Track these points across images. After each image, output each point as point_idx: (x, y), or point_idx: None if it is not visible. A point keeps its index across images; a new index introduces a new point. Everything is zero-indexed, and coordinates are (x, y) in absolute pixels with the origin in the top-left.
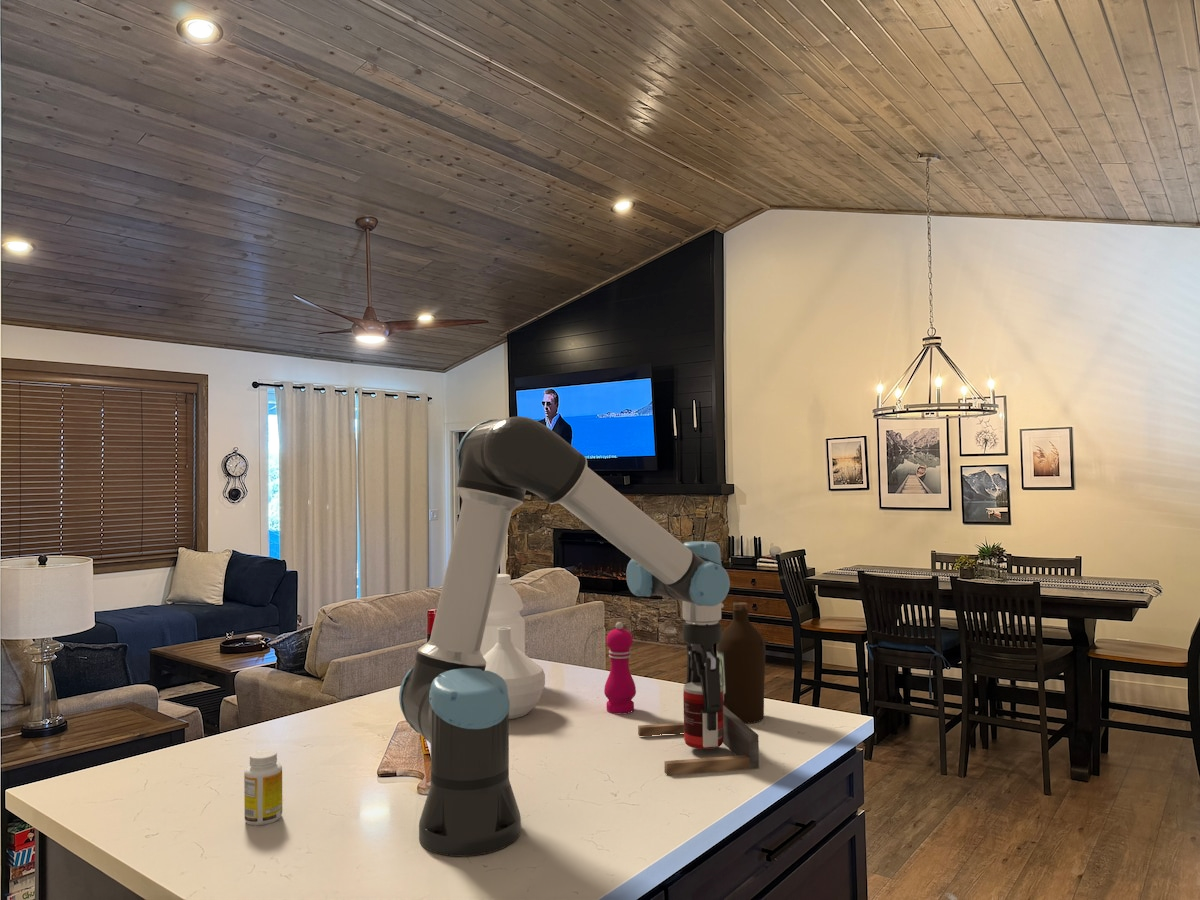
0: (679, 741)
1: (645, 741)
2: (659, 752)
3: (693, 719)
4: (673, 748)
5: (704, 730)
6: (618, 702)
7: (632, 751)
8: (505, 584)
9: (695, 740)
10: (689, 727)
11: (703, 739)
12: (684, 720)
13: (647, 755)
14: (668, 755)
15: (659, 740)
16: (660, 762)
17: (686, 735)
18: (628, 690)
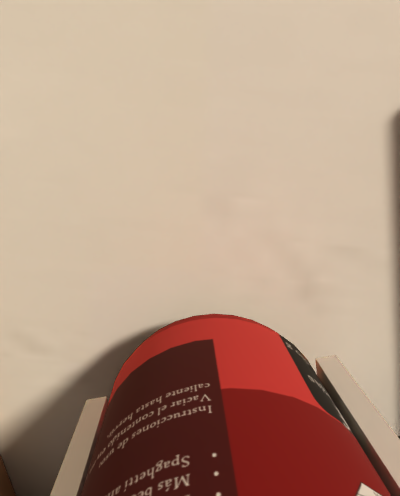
0: (346, 282)
1: (372, 106)
2: (191, 170)
3: (97, 467)
4: (247, 245)
5: (59, 476)
6: None
7: (213, 14)
8: None
9: (118, 378)
10: (137, 392)
11: (86, 425)
12: (205, 384)
13: (145, 101)
14: (145, 213)
15: (376, 185)
16: (39, 164)
17: (170, 342)
18: None
